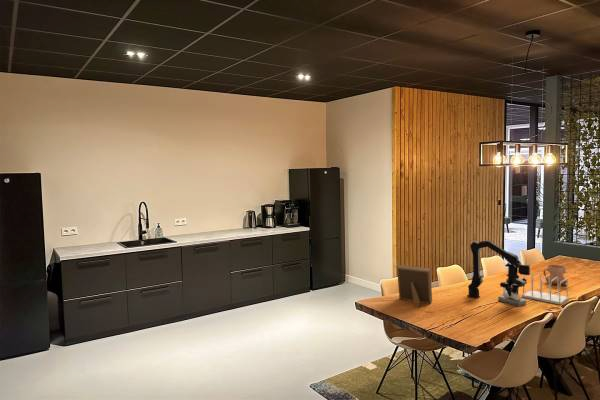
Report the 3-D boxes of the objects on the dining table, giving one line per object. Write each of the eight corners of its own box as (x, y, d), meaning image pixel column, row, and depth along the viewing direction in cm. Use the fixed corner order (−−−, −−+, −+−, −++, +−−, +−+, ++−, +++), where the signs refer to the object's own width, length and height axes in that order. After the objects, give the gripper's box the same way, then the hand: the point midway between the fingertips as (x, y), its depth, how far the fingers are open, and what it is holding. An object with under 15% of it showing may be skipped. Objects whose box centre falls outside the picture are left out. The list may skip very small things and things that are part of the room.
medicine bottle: (509, 297, 314) (510, 280, 313) (502, 294, 321) (503, 278, 320) (518, 296, 316) (518, 279, 315) (511, 293, 323) (511, 277, 322)
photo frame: (401, 297, 316) (401, 263, 314) (432, 302, 305) (432, 266, 303) (394, 303, 304) (394, 267, 301) (426, 308, 293) (426, 271, 290)
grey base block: (498, 300, 307) (498, 296, 307) (505, 298, 311) (505, 294, 311) (518, 306, 294) (518, 302, 294) (525, 304, 298) (526, 300, 298)
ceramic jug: (571, 284, 345) (572, 266, 344) (564, 287, 335) (565, 269, 334) (547, 280, 358) (547, 262, 357) (539, 283, 349) (539, 265, 348)
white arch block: (504, 300, 306) (504, 291, 306) (506, 300, 307) (506, 291, 307) (517, 304, 298) (517, 295, 297) (519, 304, 299) (520, 294, 298)
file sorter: (569, 299, 307) (570, 277, 306) (560, 305, 296) (561, 282, 294) (530, 292, 326) (531, 271, 324) (521, 297, 314) (522, 275, 313)
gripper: (514, 277, 289) (514, 301, 291) (532, 274, 298) (531, 296, 300) (499, 274, 299) (499, 296, 300) (517, 270, 308) (516, 292, 309)
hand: (512, 295), depth 302 cm, fingers open, 4 cm apart
